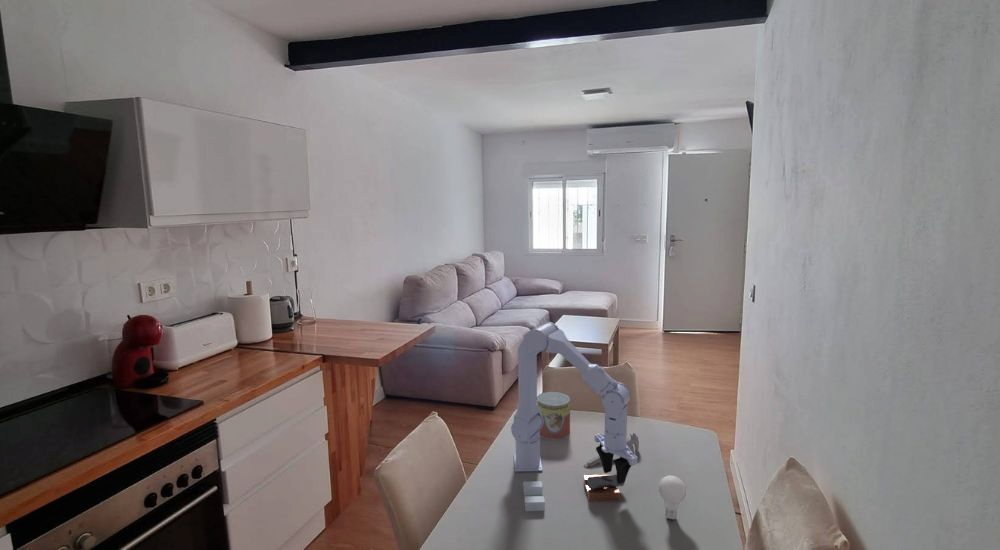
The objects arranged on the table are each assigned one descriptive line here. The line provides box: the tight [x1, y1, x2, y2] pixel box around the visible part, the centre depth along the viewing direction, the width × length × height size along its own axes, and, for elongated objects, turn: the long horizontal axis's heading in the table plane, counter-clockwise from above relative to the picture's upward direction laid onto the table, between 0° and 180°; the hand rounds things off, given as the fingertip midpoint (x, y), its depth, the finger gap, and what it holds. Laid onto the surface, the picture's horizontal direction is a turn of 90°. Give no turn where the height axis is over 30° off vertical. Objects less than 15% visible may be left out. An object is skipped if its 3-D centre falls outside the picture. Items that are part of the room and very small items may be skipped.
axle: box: [587, 473, 625, 489], centre depth 129 cm, size 10×3×3 cm, turn 114°
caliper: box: [583, 432, 640, 469], centre depth 146 cm, size 20×1×6 cm, turn 117°
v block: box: [583, 474, 621, 503], centre depth 130 cm, size 8×8×2 cm
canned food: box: [537, 391, 571, 441], centre depth 162 cm, size 11×11×12 cm
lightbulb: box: [658, 475, 687, 520], centre depth 118 cm, size 6×6×11 cm
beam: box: [522, 480, 546, 512], centre depth 127 cm, size 9×5×2 cm, turn 0°
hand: (614, 476), depth 129 cm, fingers open, 5 cm apart
